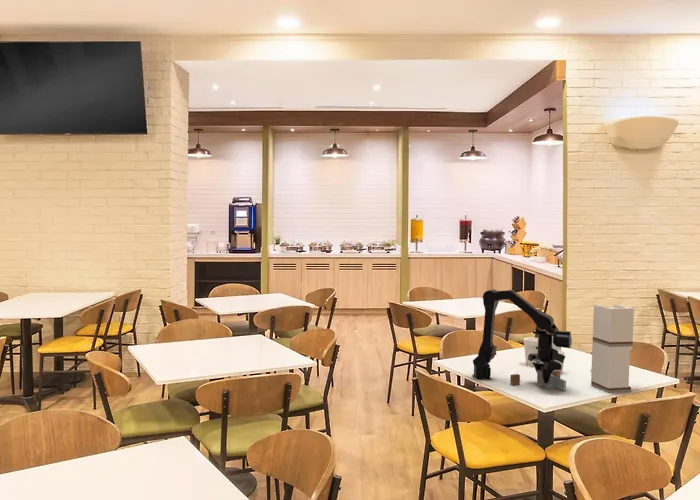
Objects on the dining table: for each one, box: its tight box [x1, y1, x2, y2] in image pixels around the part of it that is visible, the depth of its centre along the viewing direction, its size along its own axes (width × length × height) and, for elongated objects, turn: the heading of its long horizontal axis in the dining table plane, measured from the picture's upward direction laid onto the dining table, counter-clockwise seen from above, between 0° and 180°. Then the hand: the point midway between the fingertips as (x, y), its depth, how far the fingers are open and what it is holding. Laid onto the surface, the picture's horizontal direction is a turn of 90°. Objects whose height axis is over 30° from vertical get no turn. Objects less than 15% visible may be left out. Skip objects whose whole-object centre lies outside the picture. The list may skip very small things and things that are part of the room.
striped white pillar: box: [590, 304, 635, 394], centre depth 242 cm, size 11×11×35 cm
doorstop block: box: [536, 370, 551, 386], centre depth 243 cm, size 4×4×6 cm
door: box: [550, 374, 567, 392], centre depth 244 cm, size 13×2×4 cm, turn 13°
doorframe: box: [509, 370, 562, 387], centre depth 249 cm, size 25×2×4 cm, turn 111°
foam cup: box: [523, 336, 538, 368], centre depth 281 cm, size 10×9×13 cm
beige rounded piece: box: [554, 350, 565, 375], centre depth 268 cm, size 8×8×10 cm
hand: (543, 381), depth 243 cm, fingers closed on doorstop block, 4 cm apart
